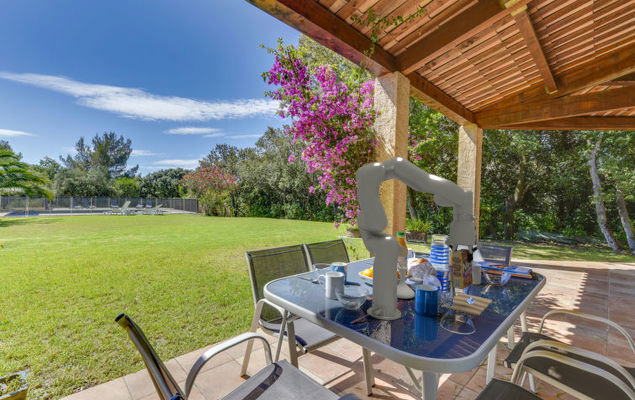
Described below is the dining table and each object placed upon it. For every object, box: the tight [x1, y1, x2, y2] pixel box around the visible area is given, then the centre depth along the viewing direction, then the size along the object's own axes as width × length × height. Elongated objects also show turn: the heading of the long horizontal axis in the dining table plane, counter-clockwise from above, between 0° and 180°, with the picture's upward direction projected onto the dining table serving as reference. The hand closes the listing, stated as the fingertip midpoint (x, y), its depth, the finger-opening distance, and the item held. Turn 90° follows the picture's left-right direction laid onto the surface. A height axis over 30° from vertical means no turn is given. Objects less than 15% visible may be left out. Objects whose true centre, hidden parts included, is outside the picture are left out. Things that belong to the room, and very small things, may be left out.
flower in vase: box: [397, 243, 416, 300], centre depth 132 cm, size 13×11×25 cm
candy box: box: [451, 248, 474, 290], centre depth 117 cm, size 9×4×15 cm, turn 126°
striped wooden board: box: [440, 292, 494, 317], centre depth 122 cm, size 26×14×1 cm, turn 137°
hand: (463, 261), depth 117 cm, fingers closed on candy box, 4 cm apart
